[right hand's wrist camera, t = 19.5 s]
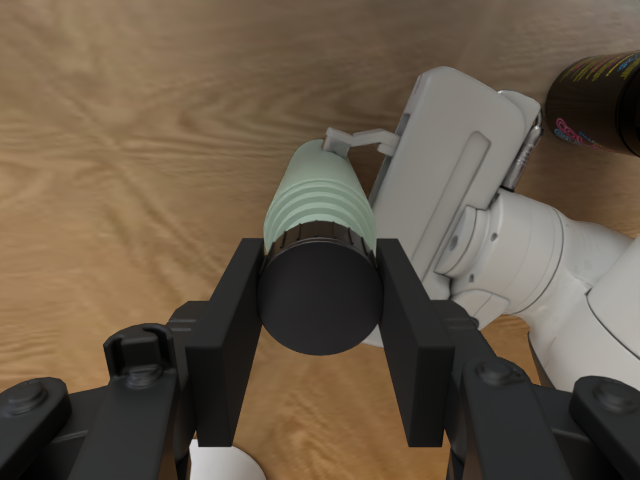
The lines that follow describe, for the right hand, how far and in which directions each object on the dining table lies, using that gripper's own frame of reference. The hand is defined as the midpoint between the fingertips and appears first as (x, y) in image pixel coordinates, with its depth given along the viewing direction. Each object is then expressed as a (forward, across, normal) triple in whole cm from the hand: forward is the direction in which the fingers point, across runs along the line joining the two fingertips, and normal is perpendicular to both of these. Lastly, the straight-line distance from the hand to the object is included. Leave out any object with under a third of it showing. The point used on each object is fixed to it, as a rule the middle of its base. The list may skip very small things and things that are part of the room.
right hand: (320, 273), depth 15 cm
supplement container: (+21, +21, +6) cm, 30 cm away
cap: (-2, 0, 0) cm, 2 cm away
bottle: (+21, 0, 0) cm, 21 cm away
